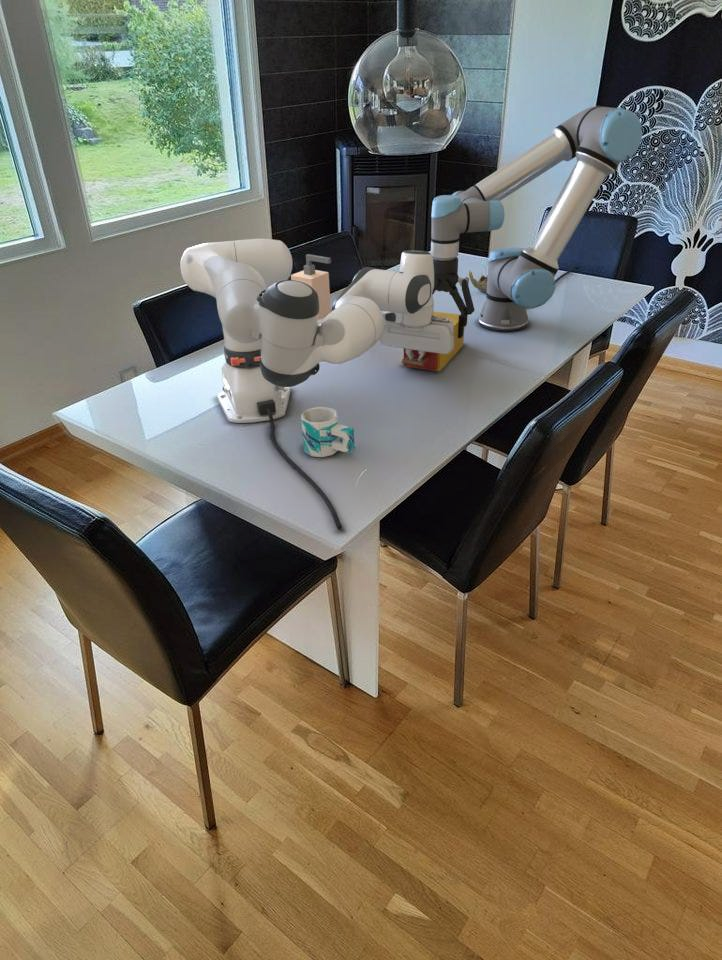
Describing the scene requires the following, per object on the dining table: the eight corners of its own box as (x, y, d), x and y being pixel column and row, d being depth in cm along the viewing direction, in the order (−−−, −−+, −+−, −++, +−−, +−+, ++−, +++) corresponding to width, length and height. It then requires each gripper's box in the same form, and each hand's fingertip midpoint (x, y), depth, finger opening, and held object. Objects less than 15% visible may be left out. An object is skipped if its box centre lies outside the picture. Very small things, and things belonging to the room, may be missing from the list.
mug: (318, 435, 155) (315, 403, 150) (361, 448, 149) (360, 415, 145) (296, 451, 149) (293, 418, 145) (340, 465, 143) (338, 431, 139)
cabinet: (439, 371, 183) (440, 339, 178) (404, 366, 187) (404, 334, 182) (463, 345, 199) (464, 315, 194) (429, 340, 203) (430, 310, 198)
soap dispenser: (294, 325, 217) (288, 256, 206) (311, 317, 223) (306, 249, 211) (325, 332, 211) (320, 261, 199) (342, 324, 217) (338, 255, 205)
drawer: (428, 378, 178) (429, 352, 174) (396, 372, 181) (395, 347, 177) (458, 345, 196) (459, 321, 192) (428, 341, 200) (428, 317, 196)
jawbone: (458, 276, 240) (475, 251, 236) (488, 295, 247) (504, 271, 244) (468, 284, 232) (486, 259, 229) (499, 304, 240) (516, 280, 236)
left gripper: (458, 314, 171) (456, 365, 179) (385, 306, 179) (386, 354, 186) (450, 322, 166) (448, 374, 174) (375, 313, 174) (376, 363, 182)
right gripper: (489, 256, 182) (484, 334, 194) (410, 250, 191) (410, 325, 202) (481, 264, 176) (476, 343, 188) (400, 257, 185) (400, 333, 197)
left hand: (415, 364), depth 180 cm, fingers closed
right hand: (442, 334), depth 195 cm, fingers closed on cabinet, 11 cm apart
